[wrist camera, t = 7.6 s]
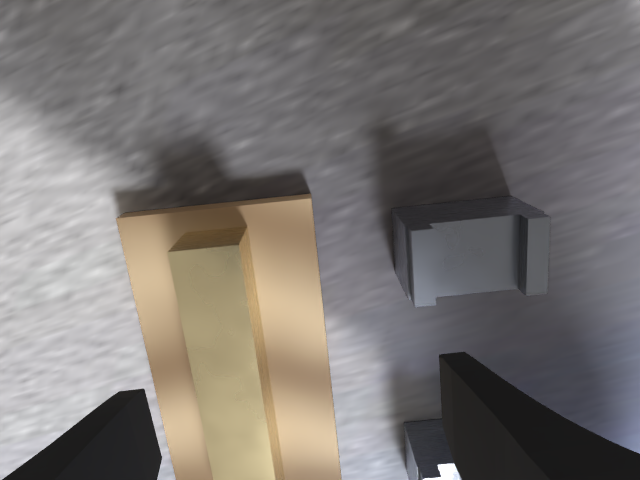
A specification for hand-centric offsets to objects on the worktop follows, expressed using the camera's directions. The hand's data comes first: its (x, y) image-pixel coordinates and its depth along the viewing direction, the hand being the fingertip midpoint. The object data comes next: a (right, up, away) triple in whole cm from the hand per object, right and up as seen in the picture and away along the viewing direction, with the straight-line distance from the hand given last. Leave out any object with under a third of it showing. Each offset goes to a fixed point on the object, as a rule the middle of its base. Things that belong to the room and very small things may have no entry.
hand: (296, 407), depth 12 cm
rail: (-3, -2, +10) cm, 11 cm away
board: (-3, -2, +11) cm, 12 cm away
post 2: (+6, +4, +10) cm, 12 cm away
